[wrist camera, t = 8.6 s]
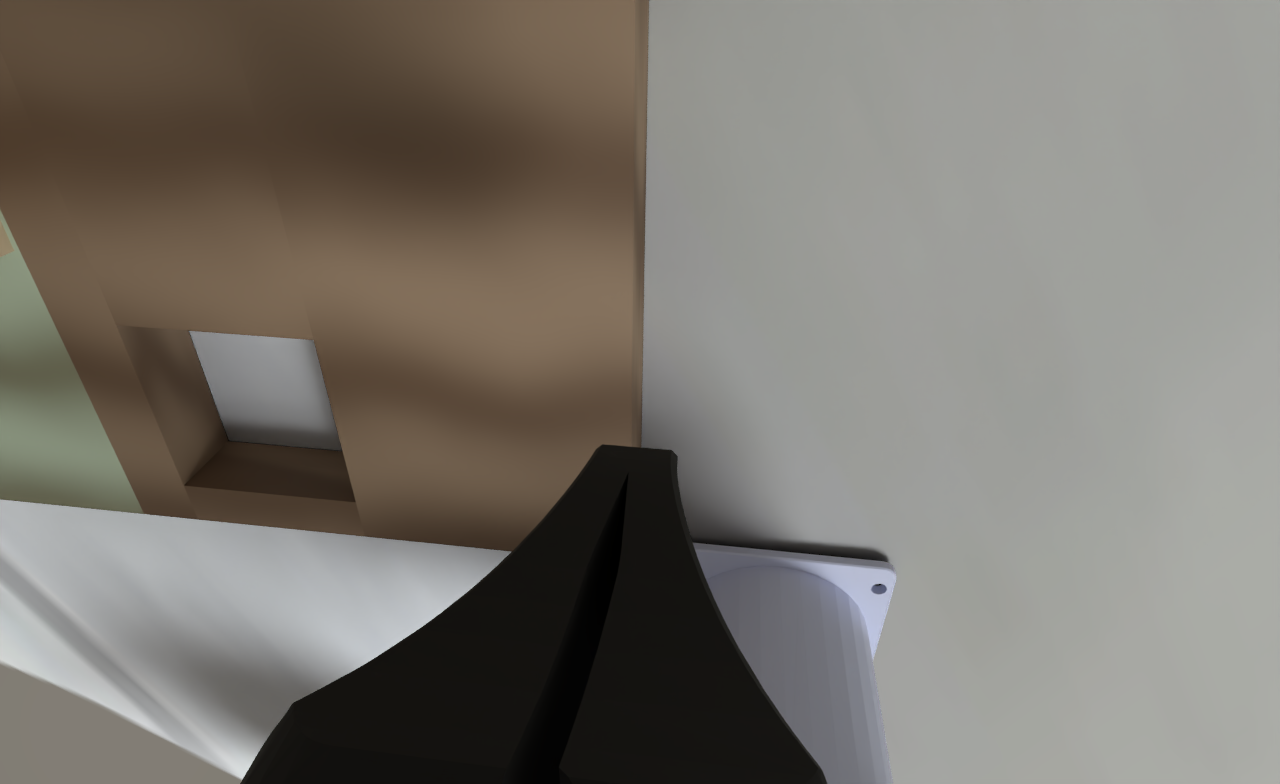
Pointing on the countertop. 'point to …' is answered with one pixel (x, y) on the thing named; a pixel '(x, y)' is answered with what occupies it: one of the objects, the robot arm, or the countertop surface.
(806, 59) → the countertop surface
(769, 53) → the countertop surface
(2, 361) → the trap board
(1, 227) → the maple cube
